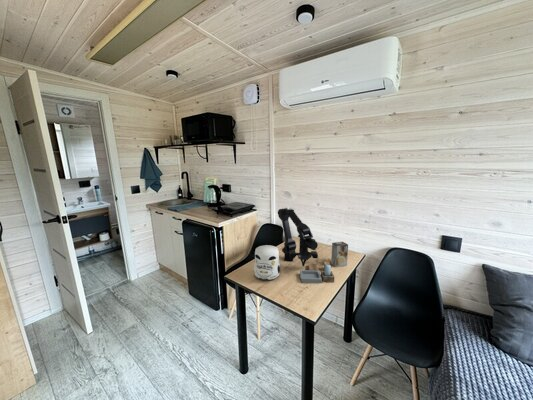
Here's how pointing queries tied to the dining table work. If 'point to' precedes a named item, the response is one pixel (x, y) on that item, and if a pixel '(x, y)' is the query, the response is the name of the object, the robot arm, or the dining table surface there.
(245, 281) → the dining table surface
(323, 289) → the dining table surface
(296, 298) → the dining table surface
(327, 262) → the light wooden block
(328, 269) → the dowel
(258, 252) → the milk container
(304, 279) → the tray
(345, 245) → the coffee box
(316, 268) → the tan cardboard box
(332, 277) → the socket block
